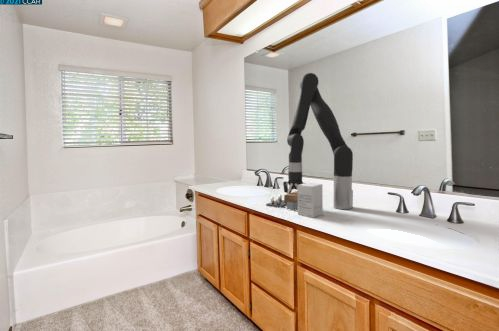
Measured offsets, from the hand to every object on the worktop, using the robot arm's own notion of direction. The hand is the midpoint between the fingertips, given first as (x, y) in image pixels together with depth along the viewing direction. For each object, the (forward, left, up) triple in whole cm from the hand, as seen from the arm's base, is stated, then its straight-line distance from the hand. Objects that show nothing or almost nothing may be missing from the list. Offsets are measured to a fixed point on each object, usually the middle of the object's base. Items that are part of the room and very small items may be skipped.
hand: (295, 200), depth 151 cm
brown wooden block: (0, 0, +1) cm, 1 cm away
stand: (0, 0, -3) cm, 3 cm away
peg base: (+11, -2, -3) cm, 12 cm away
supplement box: (-13, +10, -4) cm, 17 cm away
